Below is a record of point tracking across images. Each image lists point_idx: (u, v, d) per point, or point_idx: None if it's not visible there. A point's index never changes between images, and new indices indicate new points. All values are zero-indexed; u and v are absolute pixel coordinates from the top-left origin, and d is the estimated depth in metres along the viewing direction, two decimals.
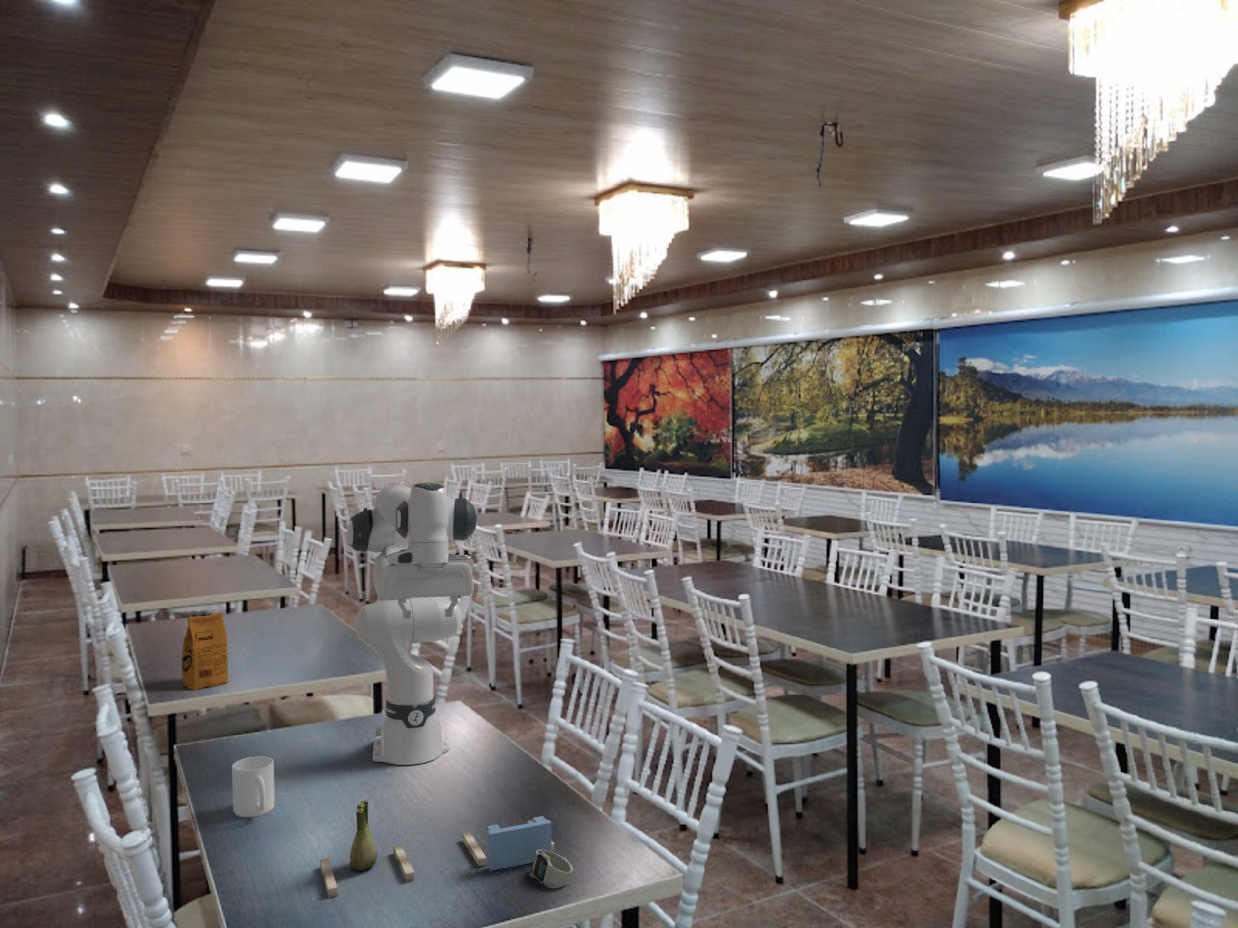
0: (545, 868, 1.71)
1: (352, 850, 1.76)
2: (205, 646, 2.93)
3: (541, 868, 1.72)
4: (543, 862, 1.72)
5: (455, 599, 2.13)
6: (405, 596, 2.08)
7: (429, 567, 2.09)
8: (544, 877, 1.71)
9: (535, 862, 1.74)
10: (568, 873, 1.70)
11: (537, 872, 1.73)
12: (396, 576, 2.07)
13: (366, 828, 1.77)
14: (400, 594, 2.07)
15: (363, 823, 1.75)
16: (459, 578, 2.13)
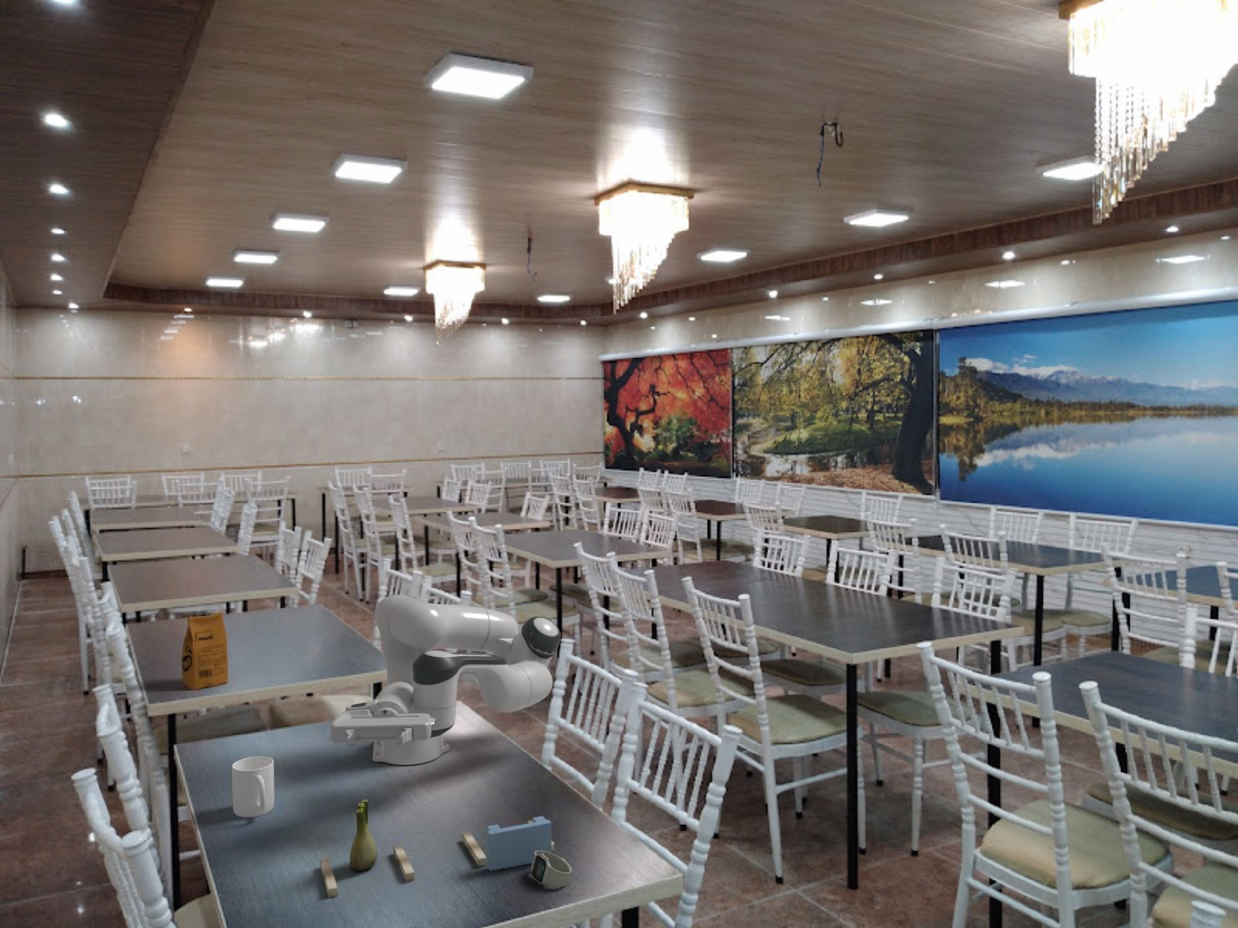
0: (544, 869, 1.71)
1: (352, 850, 1.76)
2: (205, 646, 2.93)
3: (540, 869, 1.71)
4: (542, 863, 1.71)
5: (408, 728, 1.93)
6: (352, 725, 1.93)
7: (382, 708, 2.00)
8: (543, 878, 1.70)
9: (533, 863, 1.73)
10: (567, 874, 1.70)
11: (536, 873, 1.72)
12: (346, 717, 1.97)
13: (366, 828, 1.77)
14: (347, 724, 1.94)
15: (363, 823, 1.75)
16: None
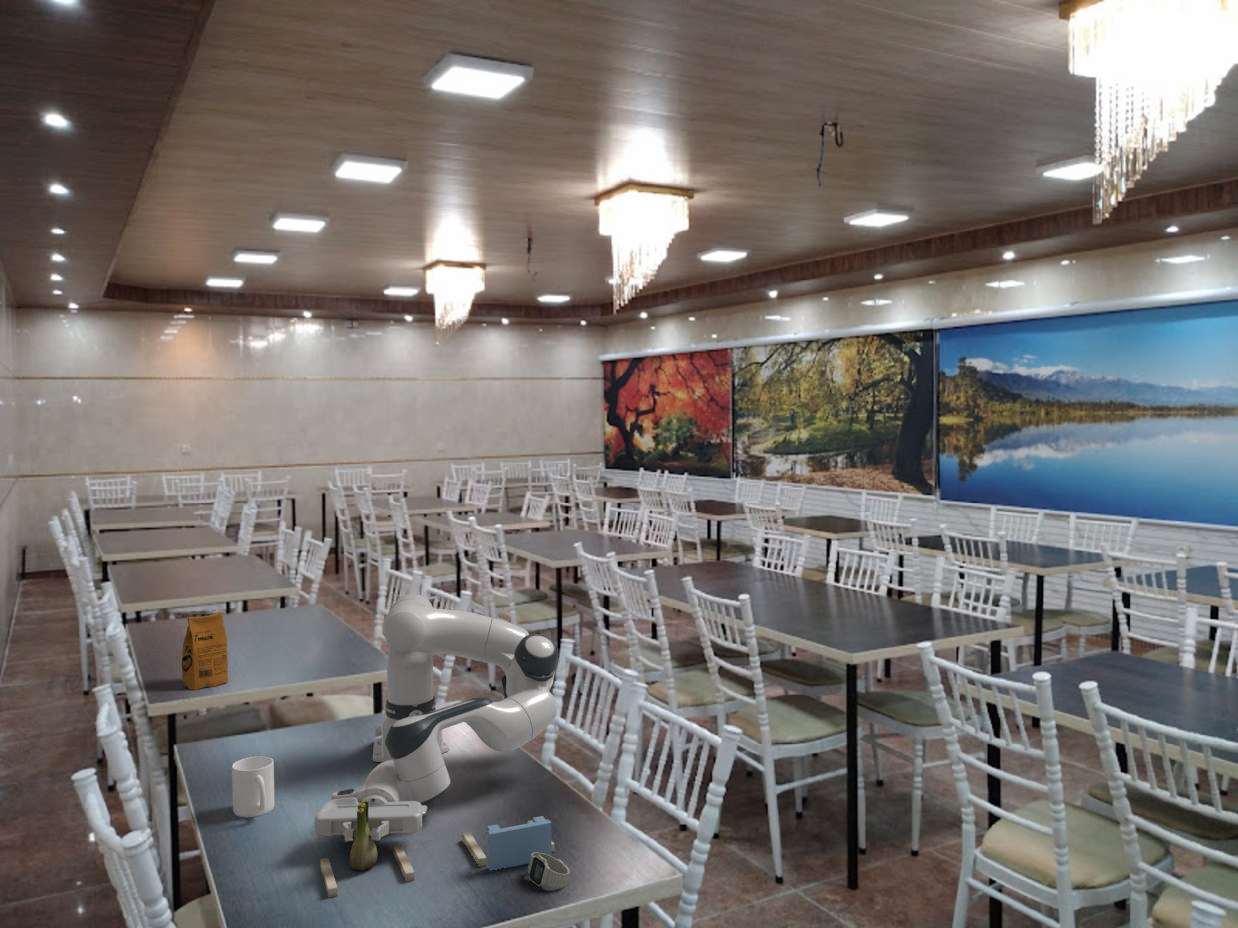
0: (542, 871, 1.70)
1: (352, 850, 1.76)
2: (205, 646, 2.93)
3: (538, 871, 1.71)
4: (540, 865, 1.71)
5: (385, 821, 1.81)
6: (338, 817, 1.81)
7: (371, 796, 1.88)
8: (541, 880, 1.70)
9: (531, 865, 1.73)
10: (566, 875, 1.70)
11: (533, 875, 1.71)
12: (332, 807, 1.85)
13: (366, 828, 1.77)
14: (333, 816, 1.81)
15: (364, 823, 1.75)
16: None
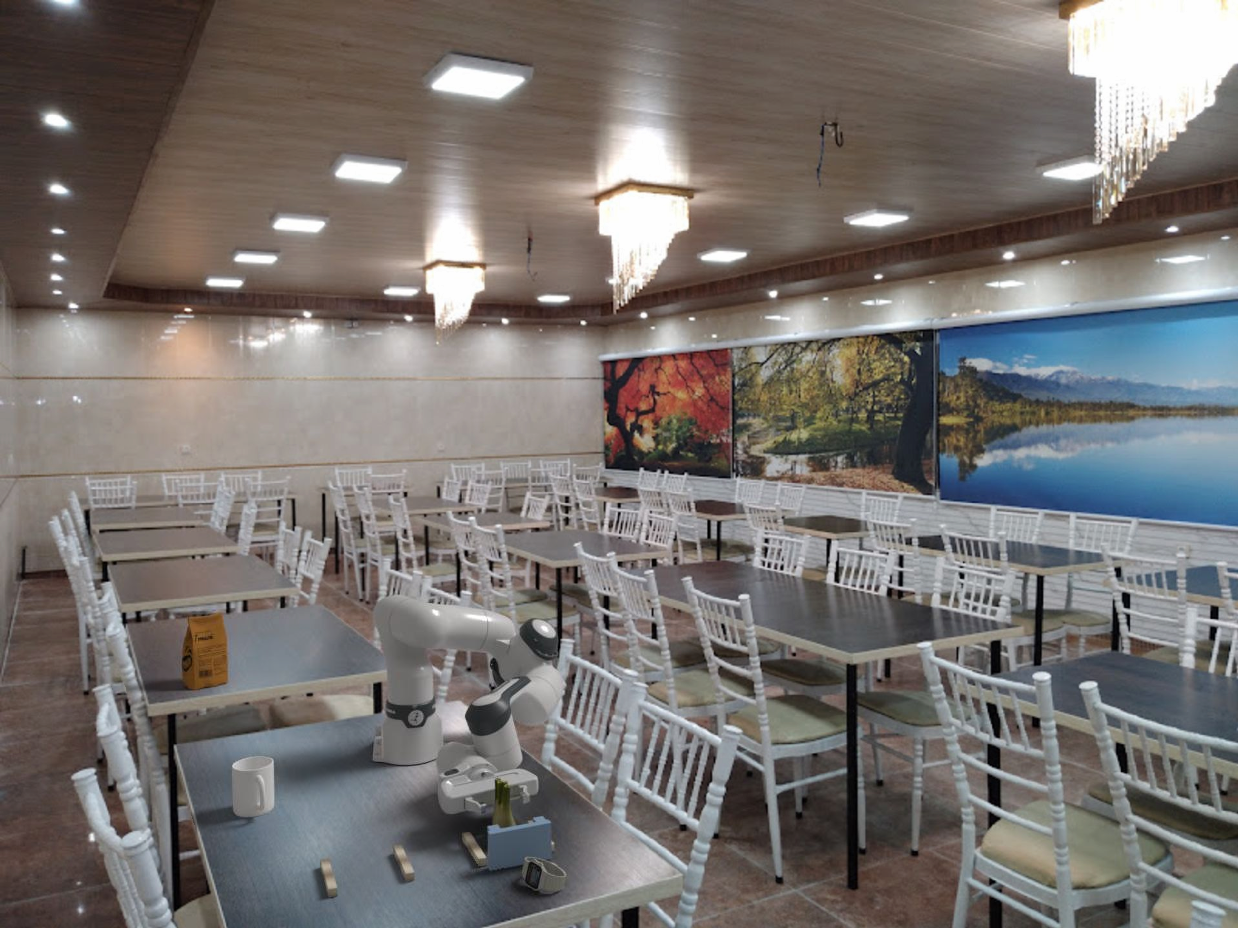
0: (539, 875, 1.68)
1: (498, 825, 1.87)
2: (205, 646, 2.93)
3: (534, 875, 1.69)
4: (536, 869, 1.69)
5: (523, 786, 1.94)
6: (469, 792, 1.89)
7: (479, 771, 1.97)
8: (539, 884, 1.68)
9: (526, 870, 1.71)
10: (563, 877, 1.69)
11: (529, 880, 1.70)
12: (450, 786, 1.92)
13: None
14: (463, 792, 1.89)
15: None
16: (516, 774, 1.98)
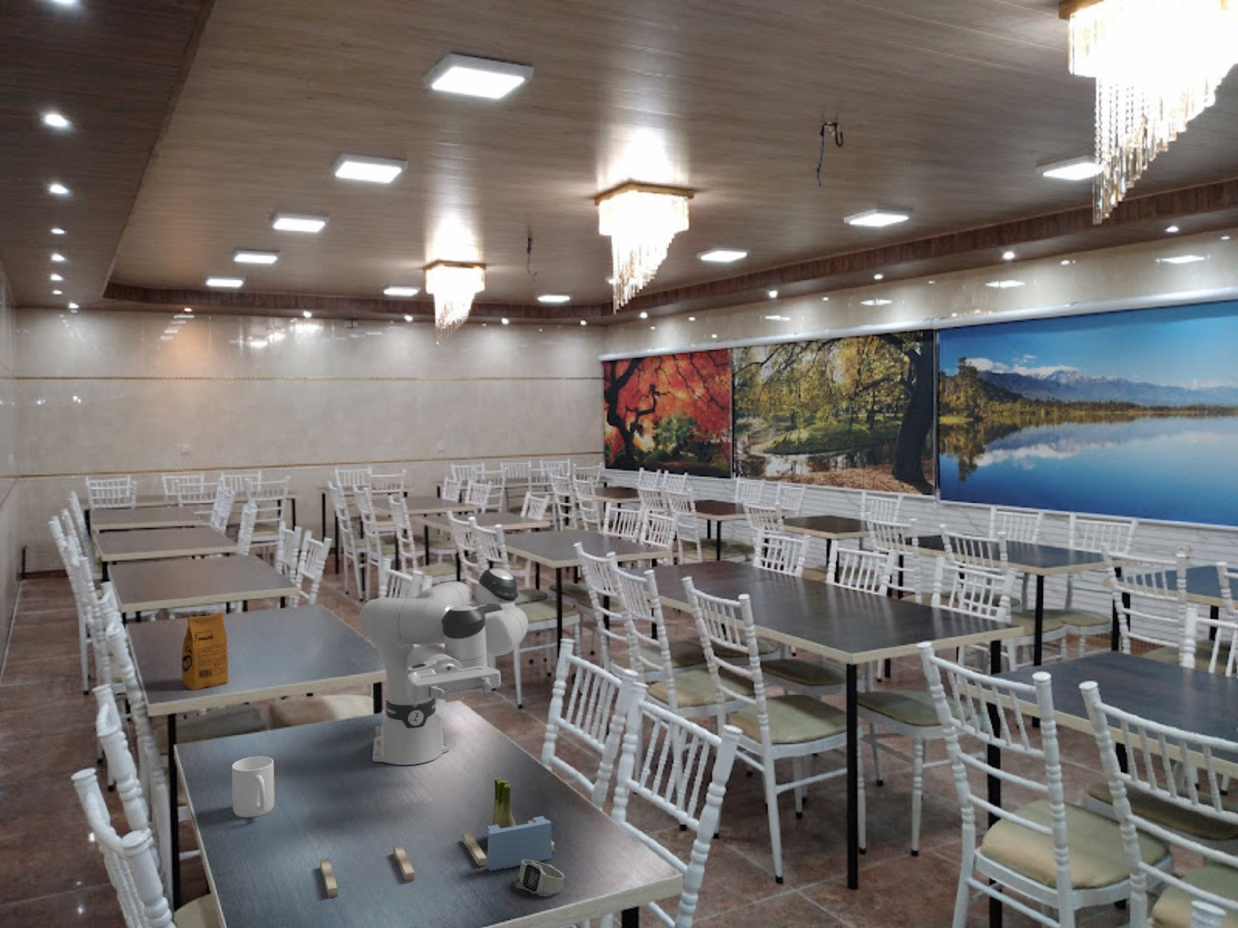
0: (538, 877, 1.68)
1: (498, 825, 1.87)
2: (205, 646, 2.93)
3: (532, 878, 1.68)
4: (534, 872, 1.68)
5: (486, 678, 2.06)
6: (434, 681, 2.01)
7: (445, 665, 2.09)
8: (537, 887, 1.67)
9: (523, 873, 1.70)
10: (562, 879, 1.68)
11: (527, 883, 1.69)
12: (417, 677, 2.04)
13: None
14: (428, 681, 2.01)
15: None
16: None
